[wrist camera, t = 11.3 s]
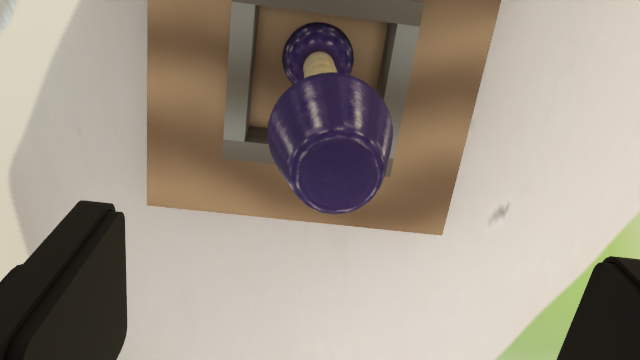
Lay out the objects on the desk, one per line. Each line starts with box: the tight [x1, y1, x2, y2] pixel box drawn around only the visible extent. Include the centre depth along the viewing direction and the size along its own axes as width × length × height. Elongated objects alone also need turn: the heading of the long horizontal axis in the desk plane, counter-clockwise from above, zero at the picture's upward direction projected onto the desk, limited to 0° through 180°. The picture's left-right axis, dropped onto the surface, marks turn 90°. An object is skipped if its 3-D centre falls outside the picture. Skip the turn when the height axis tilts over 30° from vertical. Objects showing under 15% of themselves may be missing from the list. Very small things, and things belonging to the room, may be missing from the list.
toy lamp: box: [268, 22, 393, 214], centre depth 24 cm, size 5×5×17 cm
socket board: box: [147, 0, 501, 235], centre depth 31 cm, size 20×20×4 cm
